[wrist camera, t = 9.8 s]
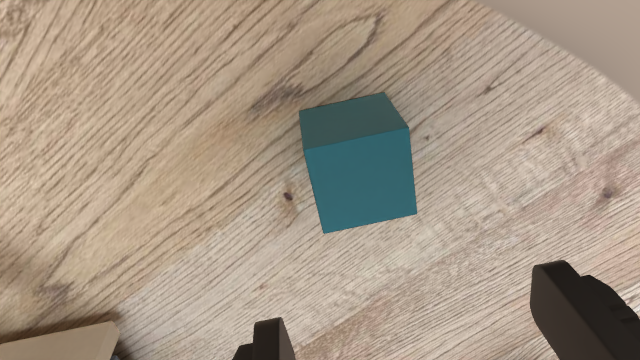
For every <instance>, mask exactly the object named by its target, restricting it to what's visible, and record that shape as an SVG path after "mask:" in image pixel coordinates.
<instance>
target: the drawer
mask: <svg viewBox="0 0 640 360" xmlns="http://www.w3.org/2000/svg"><path fill="white" fill-rule="evenodd" d="M119 336H120V332H119V330H118V329H117V327H116V326H115V324H114V323H113V321H109V322H104V323H99V324H94V325H90V326H85V327H80V328H75V329H70V330H66V331H61V332H56V333H51V334H46V335H42V336H37V337H32V338H27V339H22V340H18V341H13V342H8V343H3V344H0V360H119V358H118V357H117V356H116V355H115V356H112V353H113V351H114V348H115V346H116V343H117V341H118V338H119Z"/></svg>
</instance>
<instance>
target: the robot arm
mask: <svg viewBox="0 0 640 360" xmlns="http://www.w3.org/2000/svg"><path fill="white" fill-rule="evenodd" d="M530 309H531V313H532V316H533V318H534V321H535V323H536V325H537V326H538V328H539V329H540V331H541V332H542V334H543V335H544V337H545V338H546V340H547V341H548V343H549V344H550V346H551V347H552V349H553V350H554V352H555V353H556V355H557V356H558V358H559V359H560V360H640V319H639V318H638V315H637V314H636V313H635V312H634V311H633V310H632V309H631V308H630V307H629V306H627V305H626V303H625V302H624V301H623V300H622V298H621V297H620V296H619V295H618V294H617V293H616V292H615V291H614V290H613V289H612V288H611V287H610V286H608V285H606V284H605V283H603V282H601V281H600V280H598V279H596V278H594V277H593V276H591V275H586V276H581V277H580V275H579V274H578V273H577V272H576V271H575V270H574V269H573V268H572V267H571V265H570V264H569V263H568V262H566V261H564V260H558V261H554V262H549V263H544V264H539V265H535V266H534V267H533V271H532V283H531V295H530ZM232 360H296V359H295V354H294V350H293V347H292V345H291V342H290V339H289V336H288V333H287V330H286V327H285V325H284V322H283V319H282V318H281V317H278V318H273V319H269V320H264V321H259V322H256V323H255V325H254V335H253V343H250V344H245V345H240V346H239V348H238V350H237V351H236V353H235V355H234V357H233V359H232Z"/></svg>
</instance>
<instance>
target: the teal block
mask: <svg viewBox="0 0 640 360" xmlns="http://www.w3.org/2000/svg"><path fill="white" fill-rule="evenodd" d="M299 117H300V126H301V135H302V143H303V151H304V156H305V160H306V164H307V168H308V172H309V176H310V180H311V184H312V189H313V193H314V197H315V201H316V205H317V209H318V213H319V217H320V222H321V226H322V230H323V233H324V234H325V233H330V232H335V231H339V230H344V229H349V228H354V227H358V226H363V225H368V224H373V223H377V222H382V221H387V220H392V219H396V218H401V217H406V216H410V215H415V214H417V206H416V196H415V185H414V175H413V165H412V154H411V144H410V133H409V127H408V126H407V124H406V123H405V121H404V120H403V119H402V117H401V116H400V114H399V113H398V111H397V110H396V108H395V107H394V106H393V104H392V103H391V101H390V100H389V98H388V97H387V96H386V94H385V93H379V94H375V95H370V96H365V97H361V98H356V99H352V100H347V101H342V102H338V103H333V104H329V105H324V106H320V107H315V108H310V109H306V110H301V111H299Z"/></svg>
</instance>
